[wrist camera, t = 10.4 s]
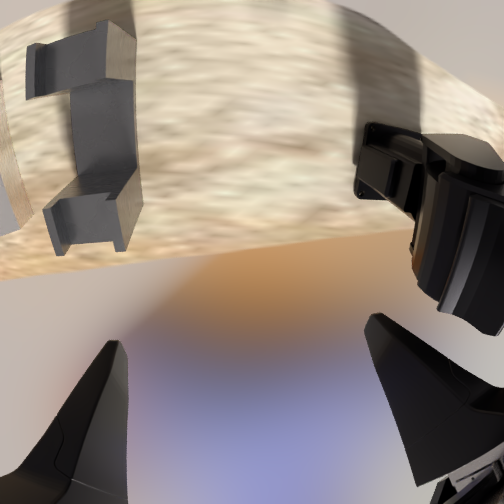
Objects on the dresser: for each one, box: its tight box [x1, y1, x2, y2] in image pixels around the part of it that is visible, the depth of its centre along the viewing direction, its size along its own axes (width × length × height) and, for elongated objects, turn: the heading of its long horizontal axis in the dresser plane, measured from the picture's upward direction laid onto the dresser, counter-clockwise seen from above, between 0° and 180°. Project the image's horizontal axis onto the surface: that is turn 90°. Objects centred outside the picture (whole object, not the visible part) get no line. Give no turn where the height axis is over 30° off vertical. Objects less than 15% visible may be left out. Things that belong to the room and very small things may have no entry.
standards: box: [26, 20, 143, 256], centre depth 13 cm, size 5×12×6 cm, turn 177°
